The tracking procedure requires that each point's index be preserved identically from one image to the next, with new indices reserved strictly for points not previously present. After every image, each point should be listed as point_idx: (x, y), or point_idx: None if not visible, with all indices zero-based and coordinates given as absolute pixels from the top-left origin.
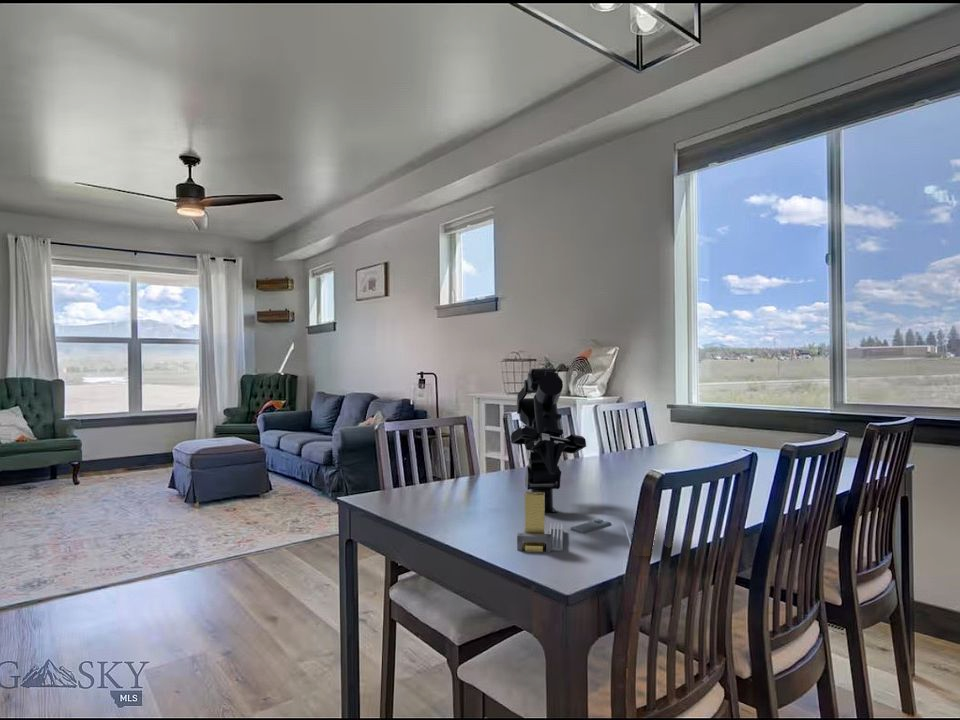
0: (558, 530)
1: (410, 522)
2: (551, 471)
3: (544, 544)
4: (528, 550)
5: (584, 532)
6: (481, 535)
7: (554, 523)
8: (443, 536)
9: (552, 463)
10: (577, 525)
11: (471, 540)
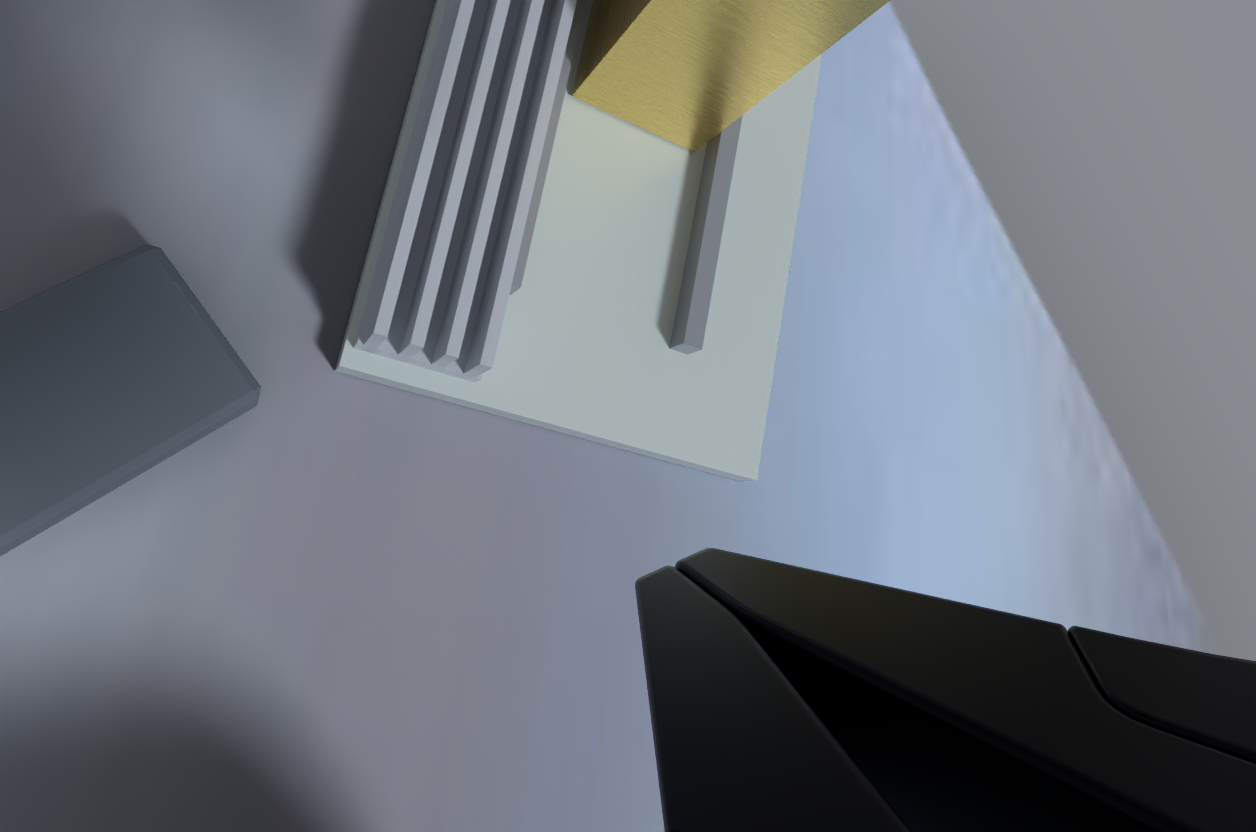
0: (462, 135)
1: None
2: (728, 558)
3: (594, 14)
4: None
5: (129, 254)
6: (916, 454)
7: (458, 340)
8: (1082, 463)
9: (836, 599)
10: (153, 446)
11: (962, 362)
